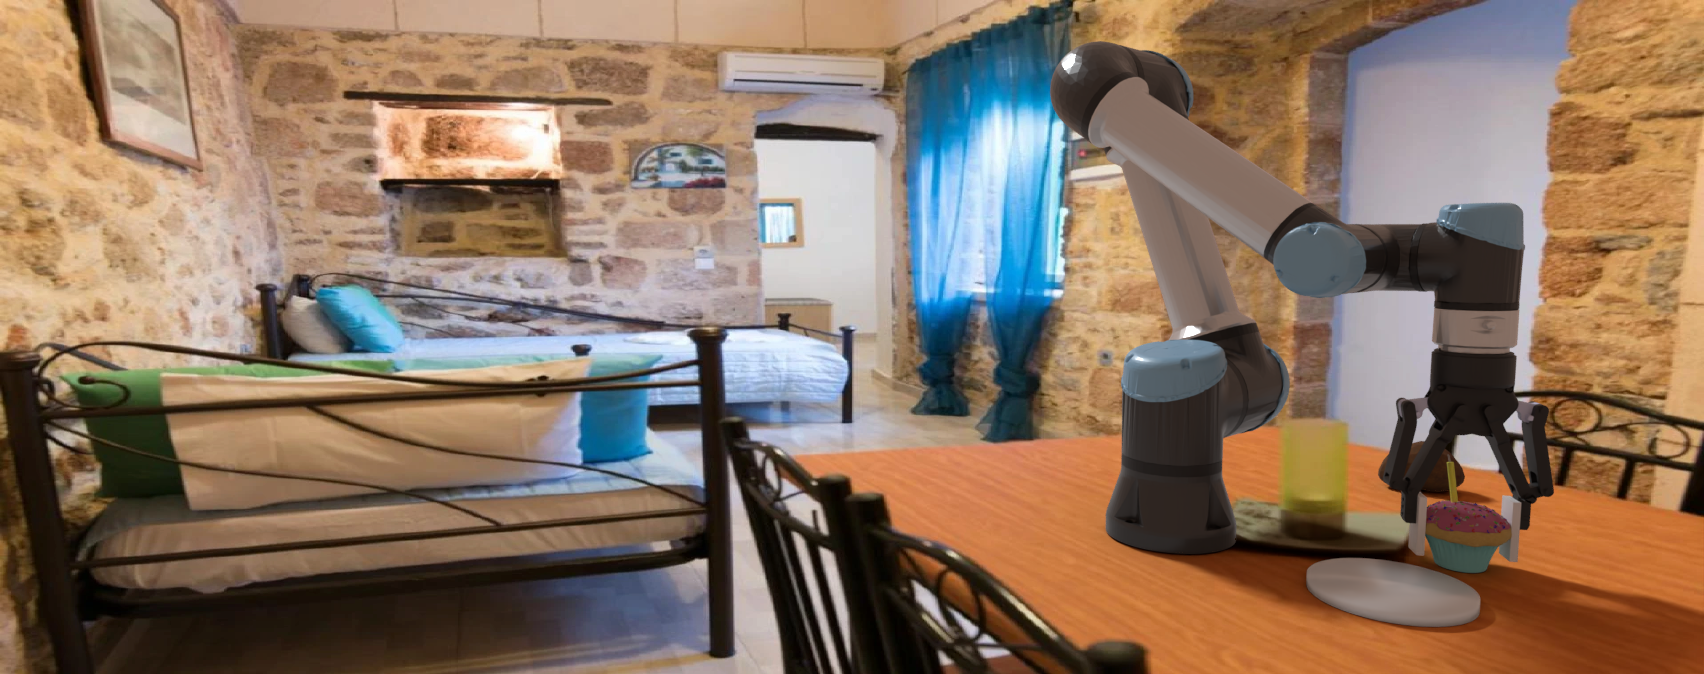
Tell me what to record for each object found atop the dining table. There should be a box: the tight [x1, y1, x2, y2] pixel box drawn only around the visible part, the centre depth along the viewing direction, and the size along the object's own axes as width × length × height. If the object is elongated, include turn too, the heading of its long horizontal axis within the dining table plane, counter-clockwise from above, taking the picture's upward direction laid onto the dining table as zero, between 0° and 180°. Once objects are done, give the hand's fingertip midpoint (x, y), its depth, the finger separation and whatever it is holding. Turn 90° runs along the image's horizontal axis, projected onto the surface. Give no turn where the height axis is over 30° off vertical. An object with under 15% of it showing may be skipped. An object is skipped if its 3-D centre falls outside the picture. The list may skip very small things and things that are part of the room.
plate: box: [1305, 557, 1481, 628], centre depth 91 cm, size 15×15×1 cm
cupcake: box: [1425, 455, 1512, 574], centre depth 98 cm, size 9×8×12 cm
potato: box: [1377, 440, 1466, 493], centre depth 128 cm, size 7×10×7 cm
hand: (1461, 554), depth 98 cm, fingers closed on cupcake, 8 cm apart
